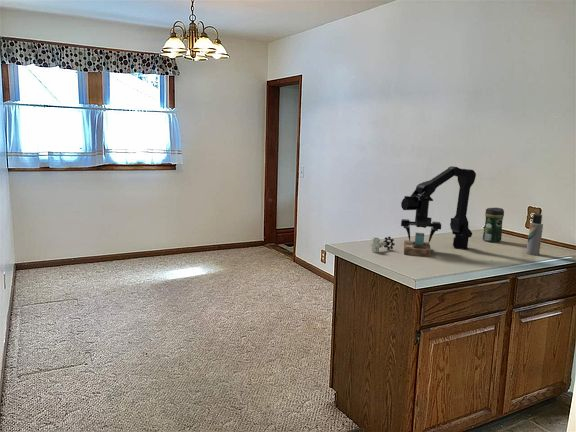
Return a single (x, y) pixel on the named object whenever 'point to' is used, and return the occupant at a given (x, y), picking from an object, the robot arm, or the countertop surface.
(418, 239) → the plug
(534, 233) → the lotion bottle
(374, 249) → the valve
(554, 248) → the countertop surface
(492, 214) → the coffee jar
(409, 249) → the socket plate
